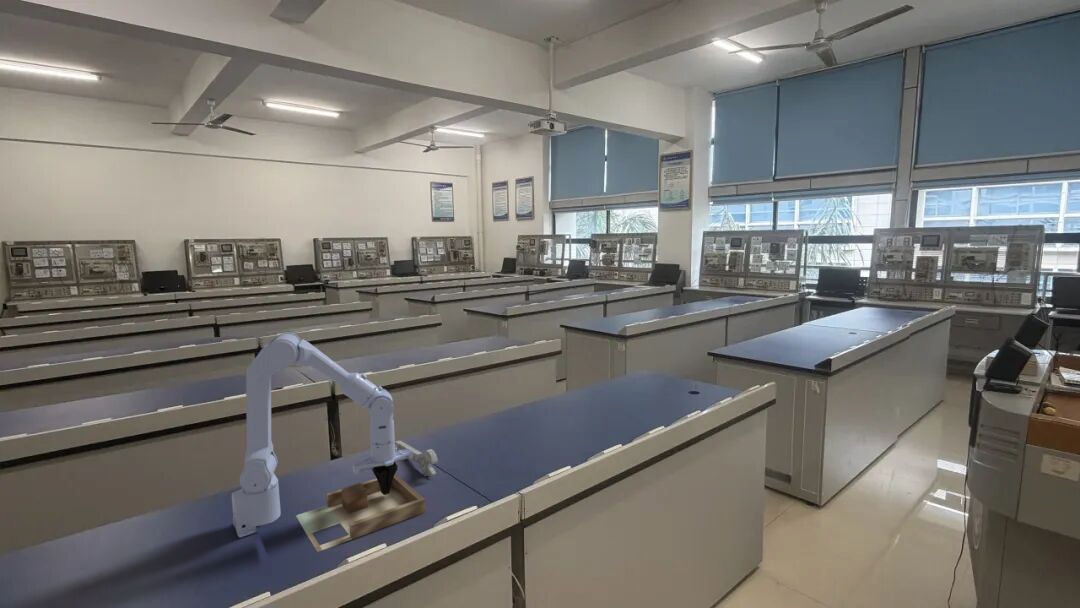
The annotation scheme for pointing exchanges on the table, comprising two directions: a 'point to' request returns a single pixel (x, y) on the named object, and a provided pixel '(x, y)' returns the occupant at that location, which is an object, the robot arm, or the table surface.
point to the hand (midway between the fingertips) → (385, 492)
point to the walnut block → (354, 498)
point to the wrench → (420, 458)
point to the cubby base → (364, 512)
